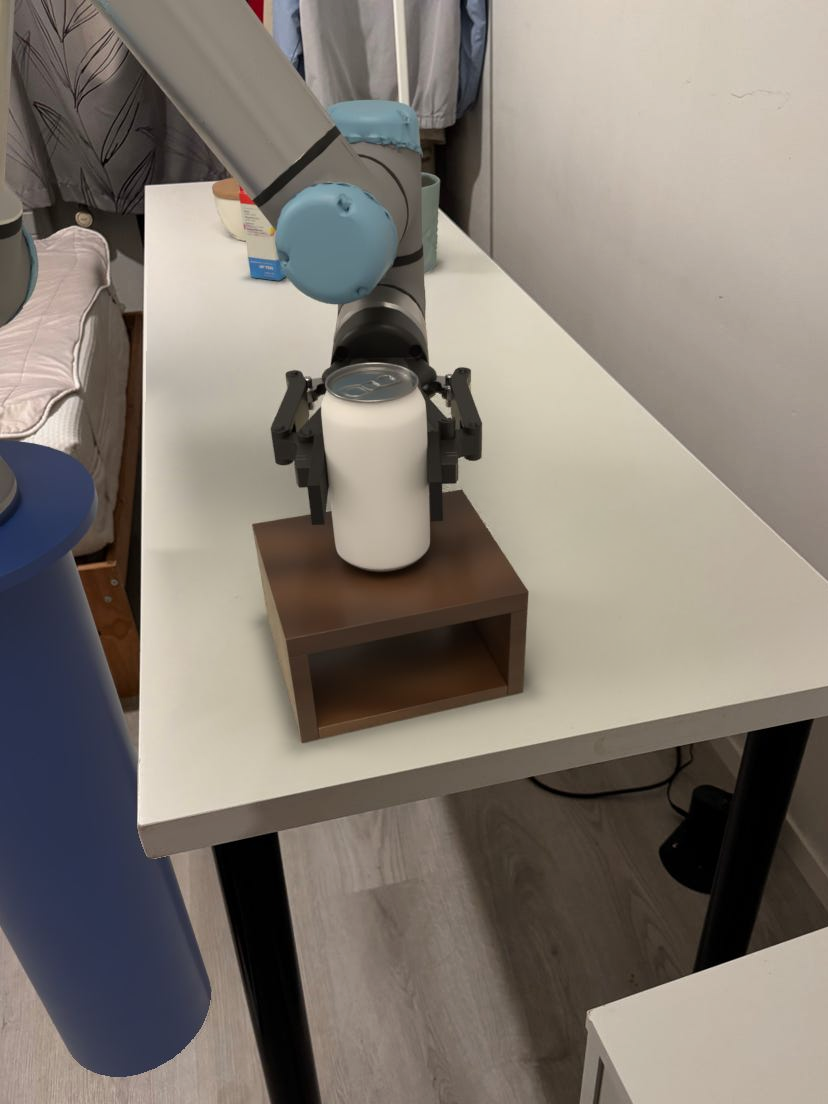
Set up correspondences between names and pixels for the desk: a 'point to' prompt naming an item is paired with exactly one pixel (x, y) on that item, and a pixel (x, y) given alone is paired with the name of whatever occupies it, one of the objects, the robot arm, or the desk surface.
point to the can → (377, 465)
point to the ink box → (259, 241)
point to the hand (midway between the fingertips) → (376, 503)
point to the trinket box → (229, 206)
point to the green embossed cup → (429, 218)
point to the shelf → (391, 623)
